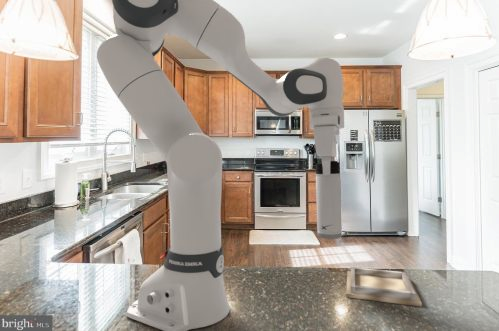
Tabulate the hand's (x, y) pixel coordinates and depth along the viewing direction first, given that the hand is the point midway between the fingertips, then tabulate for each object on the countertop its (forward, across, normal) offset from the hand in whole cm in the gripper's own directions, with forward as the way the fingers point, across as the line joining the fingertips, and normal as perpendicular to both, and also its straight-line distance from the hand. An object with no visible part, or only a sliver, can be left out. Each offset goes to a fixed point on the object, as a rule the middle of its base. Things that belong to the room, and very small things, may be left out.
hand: (328, 174), depth 79 cm
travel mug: (+17, 0, 0) cm, 17 cm away
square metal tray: (+30, -1, +12) cm, 32 cm away
